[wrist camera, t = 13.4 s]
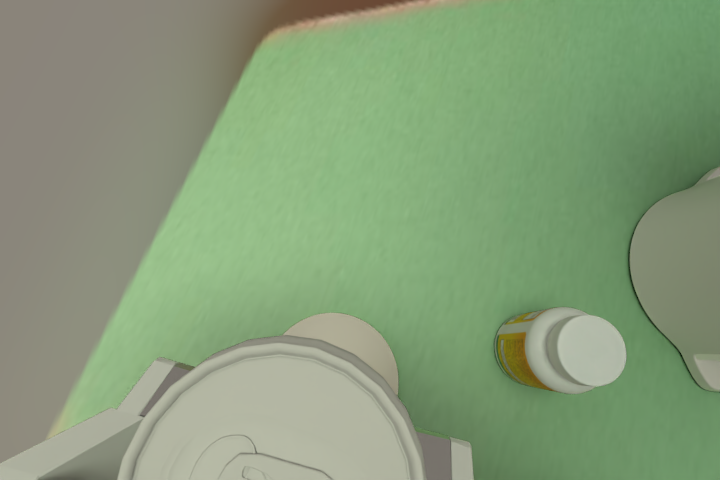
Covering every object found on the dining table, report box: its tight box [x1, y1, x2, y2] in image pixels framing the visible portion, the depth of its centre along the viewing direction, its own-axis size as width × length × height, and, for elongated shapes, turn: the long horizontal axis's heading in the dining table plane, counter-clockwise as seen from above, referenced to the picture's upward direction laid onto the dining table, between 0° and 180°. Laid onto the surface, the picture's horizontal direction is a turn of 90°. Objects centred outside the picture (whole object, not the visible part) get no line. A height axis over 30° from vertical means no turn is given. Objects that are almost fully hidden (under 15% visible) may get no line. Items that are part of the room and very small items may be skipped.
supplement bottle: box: [495, 307, 626, 394], centre depth 30 cm, size 5×5×10 cm
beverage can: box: [117, 335, 427, 480], centre depth 12 cm, size 5×5×12 cm
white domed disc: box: [283, 313, 399, 395], centre depth 33 cm, size 10×10×1 cm
